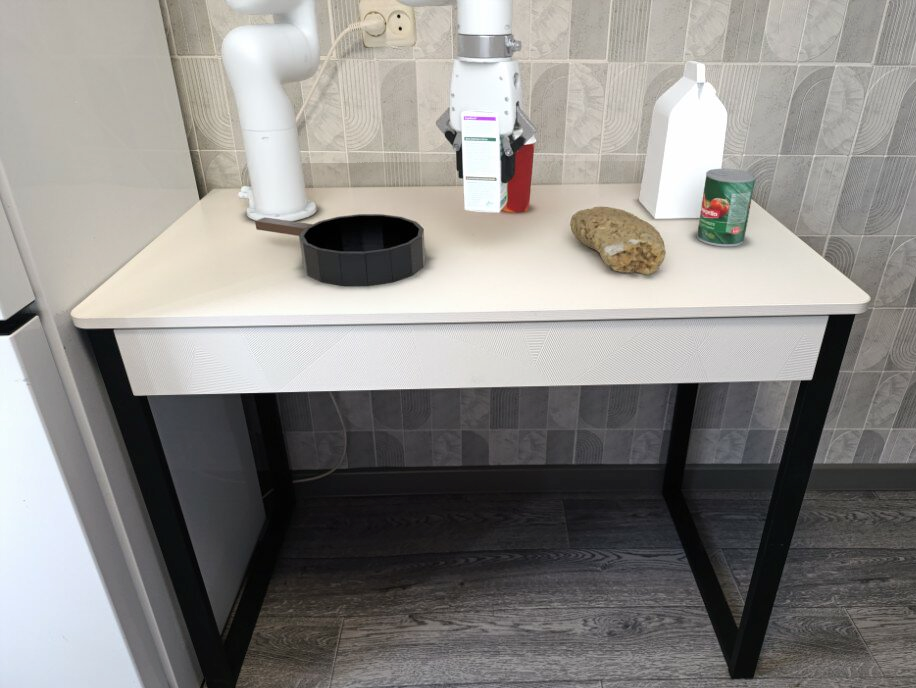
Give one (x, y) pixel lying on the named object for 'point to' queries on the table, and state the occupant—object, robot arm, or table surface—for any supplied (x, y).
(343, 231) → the pan
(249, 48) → the robot arm
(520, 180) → the paper cup
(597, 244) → the sponge
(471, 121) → the syrup box
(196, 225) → the table surface
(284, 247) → the table surface
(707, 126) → the milk
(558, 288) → the table surface
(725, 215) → the canned tomato
